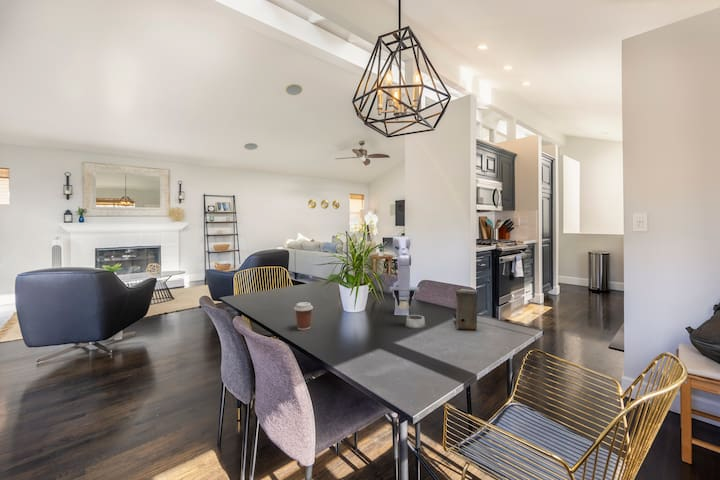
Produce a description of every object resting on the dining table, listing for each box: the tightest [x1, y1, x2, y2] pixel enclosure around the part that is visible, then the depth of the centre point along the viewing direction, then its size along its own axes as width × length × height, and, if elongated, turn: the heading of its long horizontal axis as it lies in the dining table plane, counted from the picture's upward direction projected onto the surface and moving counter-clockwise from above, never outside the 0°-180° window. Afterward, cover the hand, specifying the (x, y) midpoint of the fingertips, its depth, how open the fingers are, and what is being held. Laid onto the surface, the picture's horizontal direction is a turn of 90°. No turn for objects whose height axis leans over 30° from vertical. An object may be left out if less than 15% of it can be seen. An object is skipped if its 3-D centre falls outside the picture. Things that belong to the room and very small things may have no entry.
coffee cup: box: [293, 301, 314, 331], centre depth 163 cm, size 9×9×12 cm
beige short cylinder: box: [399, 299, 410, 310], centre depth 167 cm, size 5×5×4 cm
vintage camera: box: [452, 288, 478, 331], centre depth 166 cm, size 10×16×20 cm, turn 174°
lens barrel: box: [405, 314, 427, 330], centre depth 166 cm, size 10×10×4 cm
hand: (404, 305), depth 167 cm, fingers closed on beige short cylinder, 5 cm apart
